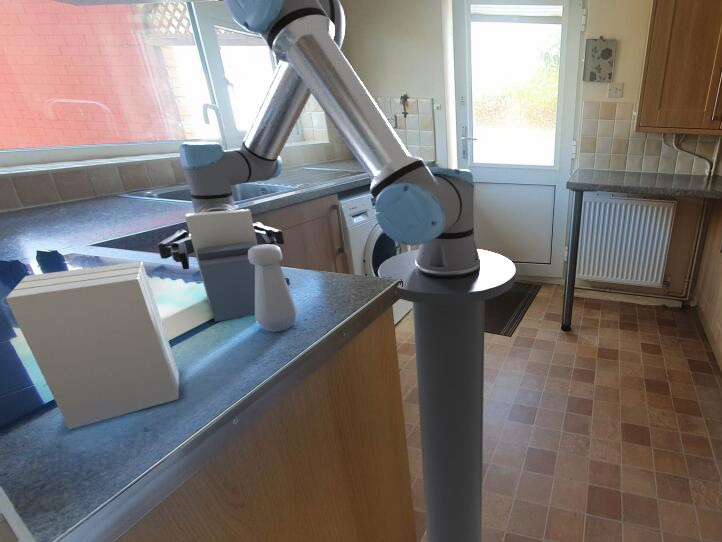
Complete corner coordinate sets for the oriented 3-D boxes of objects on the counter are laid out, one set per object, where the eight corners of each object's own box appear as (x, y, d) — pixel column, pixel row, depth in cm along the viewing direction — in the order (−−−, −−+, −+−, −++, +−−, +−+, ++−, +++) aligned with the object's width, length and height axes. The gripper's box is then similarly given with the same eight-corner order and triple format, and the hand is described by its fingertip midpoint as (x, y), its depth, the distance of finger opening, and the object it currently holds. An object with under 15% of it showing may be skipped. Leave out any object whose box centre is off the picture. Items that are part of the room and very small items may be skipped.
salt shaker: (253, 336, 61) (234, 253, 56) (262, 319, 66) (245, 241, 61) (297, 332, 62) (282, 251, 57) (302, 315, 67) (288, 239, 62)
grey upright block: (265, 294, 75) (253, 238, 71) (272, 310, 69) (260, 250, 65) (212, 303, 70) (196, 245, 66) (215, 322, 64) (197, 259, 60)
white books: (178, 372, 52) (142, 261, 46) (178, 399, 47) (137, 279, 41) (80, 397, 47) (25, 275, 41) (68, 430, 42) (5, 298, 36)
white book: (265, 287, 77) (248, 208, 72) (267, 290, 76) (250, 210, 70) (207, 297, 72) (184, 213, 67) (208, 301, 71) (184, 216, 65)
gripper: (287, 236, 92) (309, 264, 76) (150, 252, 79) (143, 290, 63) (281, 203, 89) (303, 225, 73) (138, 214, 76) (127, 243, 60)
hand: (229, 255), depth 68 cm, fingers open, 11 cm apart
